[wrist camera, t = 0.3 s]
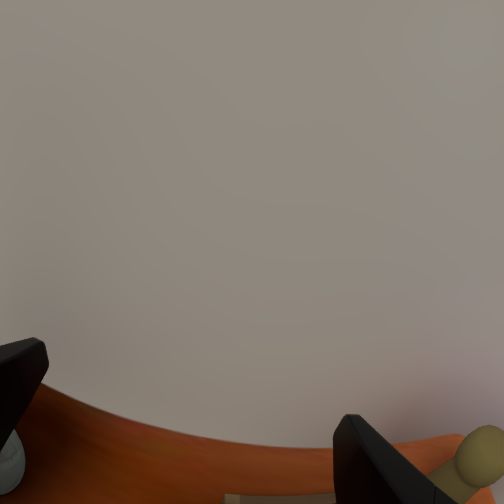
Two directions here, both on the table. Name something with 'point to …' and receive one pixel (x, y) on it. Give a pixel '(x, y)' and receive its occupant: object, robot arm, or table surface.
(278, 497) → the track
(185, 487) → the table surface
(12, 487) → the pale green plant pot
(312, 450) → the table surface
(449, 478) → the olive pawn figure
